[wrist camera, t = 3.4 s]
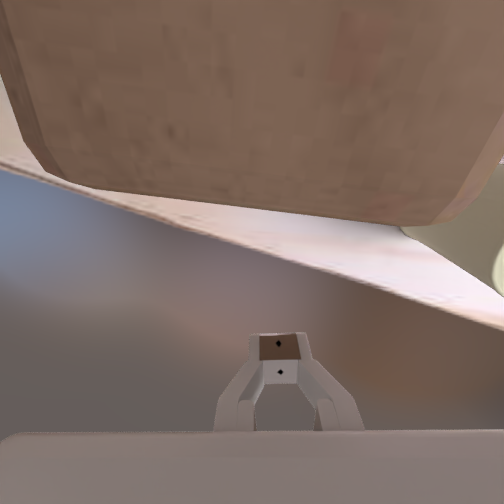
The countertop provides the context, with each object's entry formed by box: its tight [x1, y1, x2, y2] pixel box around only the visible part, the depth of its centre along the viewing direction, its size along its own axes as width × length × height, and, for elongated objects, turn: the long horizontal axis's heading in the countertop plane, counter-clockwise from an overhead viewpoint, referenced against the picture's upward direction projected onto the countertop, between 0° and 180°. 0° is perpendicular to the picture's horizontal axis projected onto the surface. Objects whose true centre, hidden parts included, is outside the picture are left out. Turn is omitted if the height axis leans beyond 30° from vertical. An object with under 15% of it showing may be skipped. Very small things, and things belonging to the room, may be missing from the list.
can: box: [399, 164, 504, 297], centre depth 18 cm, size 9×9×12 cm
